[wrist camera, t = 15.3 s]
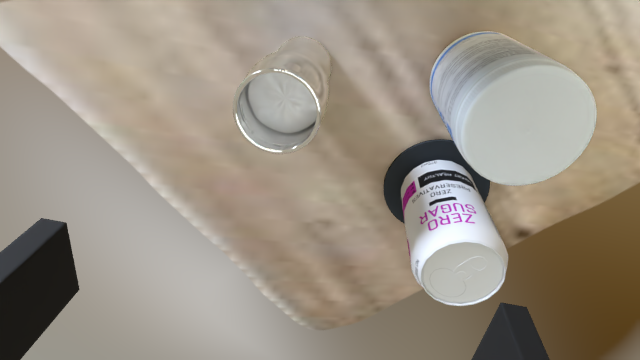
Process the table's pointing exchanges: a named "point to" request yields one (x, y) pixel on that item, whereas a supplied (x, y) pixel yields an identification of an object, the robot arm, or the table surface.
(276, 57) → the beer glass
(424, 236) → the supplement can
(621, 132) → the table surface
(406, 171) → the coaster
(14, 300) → the robot arm
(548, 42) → the table surface
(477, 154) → the supplement tub
